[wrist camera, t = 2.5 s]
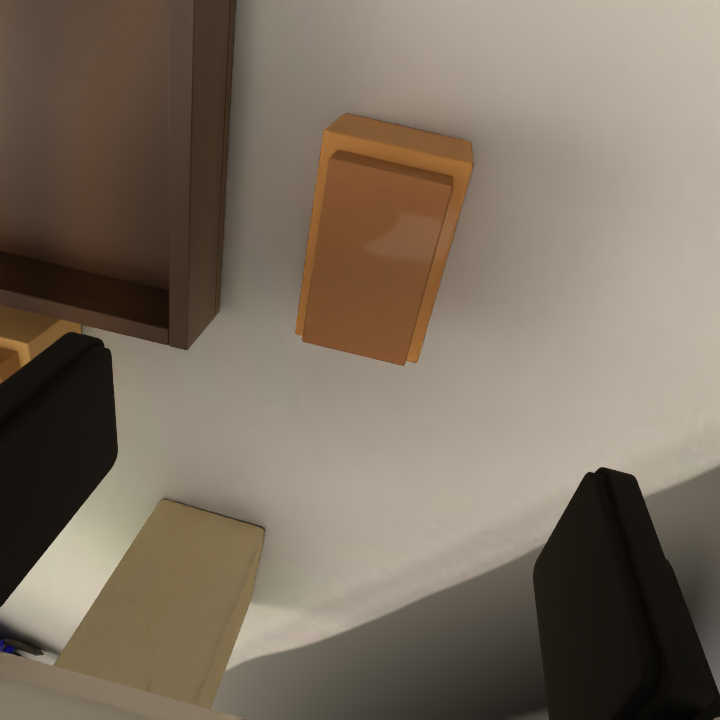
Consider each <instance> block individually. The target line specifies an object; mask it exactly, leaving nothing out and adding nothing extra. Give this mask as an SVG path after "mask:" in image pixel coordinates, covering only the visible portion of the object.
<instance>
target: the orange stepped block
mask: <svg viewBox="0 0 720 720" xmlns="http://www.w3.org/2000/svg"><path fill="white" fill-rule="evenodd" d="M473 166H474V164H473V155H472V145H471V142H470V141H466V140H462V139H457V138H453V137H448V136H444V135H440V134H435V133H431V132H426V131H422V130H417V129H413V128H409V127H404V126H400V125H395V124H391V123H387V122H382V121H378V120H373V119H369V118H364V117H360V116H356V115H351V114H347V113H346V114H344V115H342V116H341V117H340V118H339V119H337V120H336V121H335V122H334V123H332V124H331V125H330V126H328V127H327V128H326V129H325V130H324V131H323V138H322V145H321V152H320V159H319V166H318V173H317V180H316V188H315V195H314V202H313V209H312V216H311V223H310V230H309V237H308V245H307V252H306V259H305V266H304V273H303V280H302V287H301V295H300V302H299V309H298V316H297V323H296V330H295V333H296V334H297V335H301V336H302V341H303V342H307V343H311V344H315V345H319V346H323V347H327V348H332V349H336V350H340V351H344V352H348V353H352V354H357V355H361V356H365V357H369V358H373V359H377V360H382V361H386V362H390V363H394V364H398V365H402V366H404V365H405V363H406V361H410V362H414V363H417V361H418V358H419V355H420V351H421V348H422V344H423V341H424V337H425V334H426V330H427V327H428V323H429V320H430V316H431V313H432V309H433V306H434V302H435V299H436V295H437V292H438V288H439V285H440V281H441V278H442V274H443V271H444V267H445V264H446V260H447V257H448V254H449V250H450V247H451V243H452V240H453V236H454V233H455V229H456V226H457V222H458V219H459V215H460V212H461V208H462V205H463V201H464V198H465V194H466V191H467V187H468V184H469V180H470V177H471V173H472V170H473Z"/></svg>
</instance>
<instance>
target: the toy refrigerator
mask: <svg viewBox="0 0 720 720" xmlns="http://www.w3.org/2000/svg"><path fill="white" fill-rule="evenodd" d="M264 536H265V532H264V530H263V529H262V528H260V527H257V526H254V525H251V524H247V523H243V522H240V521H237V520H234V519H230V518H227V517H223V516H220V515H217V514H214V513H210V512H207V511H203V510H200V509H196V508H193V507H190V506H187V505H183V504H180V503H176V502H173V501H169V500H165V499H164V500H161V501H160V502H159V503H158V504H157V506H156V507H155V509H154V510H153V512H152V513H151V515H150V517H149V518H148V520H147V521H146V523H145V524H144V526H143V527H142V529H141V530H140V532H139V533H138V535H137V536H136V538H135V540H134V541H133V543H132V544H131V546H130V547H129V549H128V550H127V552H126V553H125V555H124V557H123V558H122V560H121V561H120V563H119V564H118V566H117V567H116V569H115V570H114V572H113V573H112V575H111V577H110V578H109V580H108V581H107V583H106V584H105V586H104V587H103V589H102V591H101V592H100V594H99V595H98V597H97V598H96V600H95V601H94V603H93V605H92V606H91V608H90V609H89V611H88V612H87V614H86V615H85V617H84V618H83V620H82V622H81V623H80V625H79V626H78V628H77V629H76V631H75V632H74V634H73V636H72V637H71V639H70V640H69V642H68V643H67V645H66V647H65V648H64V650H63V651H62V653H61V654H60V656H59V657H58V659H57V661H56V662H55V664H54V665H53V666H56V667H60V668H64V669H67V670H71V671H75V672H78V673H82V674H85V675H89V676H93V677H96V678H100V679H104V680H107V681H111V682H114V683H118V684H122V685H125V686H129V687H133V688H136V689H140V690H143V691H147V692H151V693H154V694H158V695H161V696H165V697H168V698H172V699H176V700H179V701H183V702H186V703H190V704H193V705H197V706H200V707H204V708H208V709H211V706H212V704H213V701H214V699H215V696H216V693H217V690H218V688H219V685H220V682H221V680H222V677H223V674H224V671H225V669H226V666H227V663H228V661H229V658H230V655H231V653H232V650H233V647H234V645H235V642H236V639H237V636H238V634H239V631H240V628H241V626H242V623H243V620H244V618H245V615H246V612H247V610H248V606H249V603H250V599H251V595H252V591H253V587H254V582H255V578H256V573H257V569H258V564H259V560H260V555H261V551H262V546H263V541H264Z"/></svg>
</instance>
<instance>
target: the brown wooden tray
mask: <svg viewBox="0 0 720 720" xmlns="http://www.w3.org/2000/svg"><path fill="white" fill-rule="evenodd" d="M235 4H236V0H0V305H4V306H8V307H12V308H16V309H20V310H24V311H28V312H32V313H37V314H41V315H45V316H49V317H53V318H57V319H61V320H66V321H70V322H74V323H78V324H82V325H86V326H90V327H94V328H99V329H103V330H107V331H111V332H115V333H119V334H123V335H127V336H132V337H136V338H140V339H144V340H148V341H152V342H156V343H161V344H165V345H169V346H171V347H176V348H180V349H184V350H188V349H189V348H190V346H191V345H192V344H193V343H194V342H195V340H196V339H197V338H198V337H199V336H200V334H201V333H202V332H203V331H204V330H205V328H206V327H207V326H208V325H209V324H210V322H211V321H212V320H213V319H214V317H215V316H216V315H217V314H218V312H219V303H220V285H221V266H222V247H223V229H224V210H225V191H226V172H227V154H228V135H229V116H230V98H231V79H232V60H233V42H234V23H235Z"/></svg>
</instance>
